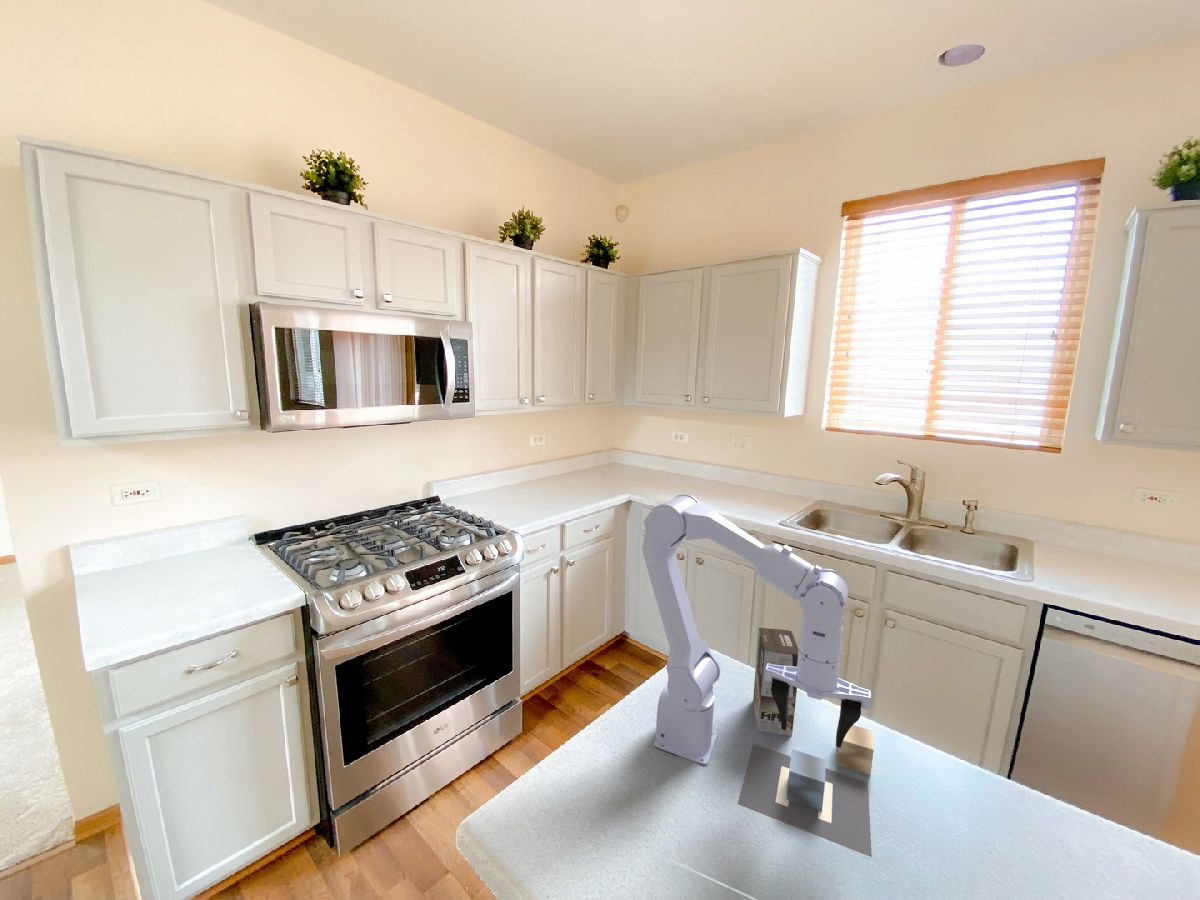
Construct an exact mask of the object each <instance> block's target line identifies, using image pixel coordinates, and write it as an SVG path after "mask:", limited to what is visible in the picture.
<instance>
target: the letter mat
mask: <svg viewBox="0 0 1200 900" xmlns="http://www.w3.org/2000/svg"><path fill="white" fill-rule="evenodd" d="M790 760H791V755H788V754H785V753H781V752H779V751H776V750H773V749H770V748H767V747H764V746H761V745H759V744H757V743H756V744H755V743H753V744H752V747H751V750H750V754H749V759H748V763H747V767H746V770H745V774H744V777H743V782H742V786H741V790H740V793H739V797H738V801H737V805H740V806H742V807H745V808H747V809H750V810H752V811H755V812H758V813H760V814H763V815H765V816H767V817H770V818H773V819H775V820H778V821H779V822H780V821H781V822H782V823H785V824H788V825H791V826H793V827H795V828H797V829H801V830H802V831H805V832H807V833H810V834H813V835H816V836H818V837H821V838H823V839H826V840H828V841H831V842H834V843H835V844H836V843H837V844H839V845H841V846H843V847H846V848H849V849H852V850H853V851H856V852H858V853H861V854H864V855H867V856H869V857H871V858H872V855H873V853H872V839H871V838H872V835H871V819H870V813H871V812H870V800H869V799H870V798H869V797H870V796H869V795H870V793H869V782H867V781H865V780H861V779H859V778H856V777H854V776H849V775H847V774H844V773H841V772H838V771H835V770H832V769H829V768H827V767H825V788H824V797H823V806H822V812H820V811H817V810H814V809H811V808H808V807H806V806H803V805H800V804H797V803H795V802H792V801H789V800H786V799H787V789H788V778H789V768H790Z"/></svg>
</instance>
